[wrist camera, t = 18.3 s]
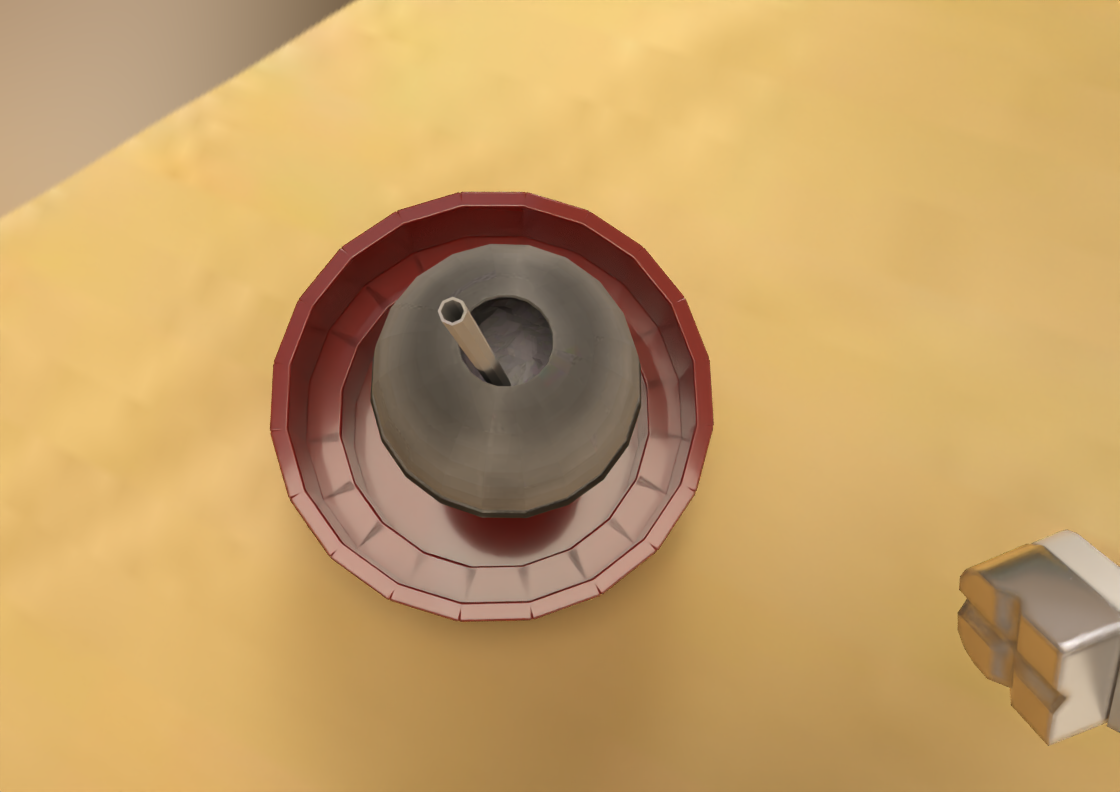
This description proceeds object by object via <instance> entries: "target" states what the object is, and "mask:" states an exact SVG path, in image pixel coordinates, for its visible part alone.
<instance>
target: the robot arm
mask: <svg viewBox="0 0 1120 792" xmlns="http://www.w3.org/2000/svg"><path fill="white" fill-rule="evenodd" d="M959 590H960V591H961V592H962V593H963V594H964V595H965V597H966V598H967V600H966V601H965V603H964V604H963V606H962V607H961V609H960V610H959V612H958V632H959V635H960V638H961V640H962V643H963V646H964V648H965V650H966V652H967V653H968V655H969V656H970V658H971V660H972V661H973V663H974V664H975V665H976V666H977V668H978V669H979V670H980V671H981V672H982V673H983V674H984V676H985V677H986V678H987V679H989V680H992V681H994V682H997V683H999V684H1002V685H1004V686H1007V687H1009V688H1010V698H1011V706H1012V707H1013V708H1014V709H1015V710H1016V711H1017V712H1018V713H1019V714H1020V716H1021V717H1022V718H1023V719H1024V720H1025V721H1026V722H1027V723H1028V724H1029V725H1030V727H1031V728H1032V729H1033V730H1034V731H1035V732H1036V733H1037V734H1038V735H1039V736H1040V738H1041V739H1042V740H1043V741H1044V742H1045V743H1046V744H1047V745H1048V746H1049V745H1052V744H1054V743H1057V742H1059V741H1062V740H1064V739H1067V738H1069V737H1072V736H1074V735H1077V734H1079V733H1082V732H1084V731H1087V730H1089V729H1092V728H1094V727H1097V726H1099V725H1102V724H1104V723H1107V722H1108V724H1107V727H1109V728H1111V729H1113V730H1115V731H1117V732H1119V733H1120V567H1119V566H1117V565H1116V564H1115V563H1114V562H1112V561H1111V560H1110V559H1109V558H1107V557H1106V556H1105V555H1104V554H1102V553H1101V552H1100V551H1099V550H1097V549H1096V548H1095V547H1094V546H1092V545H1091V544H1090V543H1089V542H1087V541H1086V540H1085V539H1084V538H1082V537H1081V536H1080V535H1078V534H1077V533H1075V532H1072V531H1069V530H1063V531H1059V532H1057V533H1054V534H1052V535H1050V536H1047V537H1045V538H1043V539H1040V540H1038V541H1036V542H1033V543H1031V544H1025V545H1022V546H1020V547H1018V548H1015V549H1013V550H1011V551H1008V552H1006V553H1003V554H1001V555H999V556H996V557H994V558H991V559H989V560H987V561H984V562H982V563H980V564H977V565H975V566H972V567H970V568H968V569H966V570H965V571H964V572H963V573H962V575H961V576H960V585H959Z"/></svg>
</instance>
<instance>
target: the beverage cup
mask: <svg viewBox="0 0 1120 792" xmlns="http://www.w3.org/2000/svg"><path fill="white" fill-rule="evenodd" d="M370 401H371V405H372V409H373V412H374V416H375V420H376V423H377V427H378V430H379V434H380V438H381V441H382V443H383V444H384V446H385V447H386V449H387V450H388V452H389V453H390V455H391V456H392V458H393V459H394V460H395V462H396V463H397V465H398V466H399V468H400V469H401V471H402V472H403V474H404V475H405V477H406V478H408V479H409V480H410V481H412V482H413V483H414V484H416V485H417V486H418V487H420V488H421V489H422V490H424V491H425V492H426V493H427V494H429V495H430V496H431V497H433V498H434V499H435V500H437V501H438V502H439V503H441V504H444V505H447V506H450V507H453V508H456V509H459V510H461V511H464V512H467V513H470V514H473V515H476V516H479V517H482V518H528V517H531V516H535V515H538V514H541V513H544V512H547V511H551V510H554V509H557V508H560V507H564V506H567V505H569V504H570V503H572V502H573V501H575V500H576V499H577V498H579V497H580V496H582V495H583V494H584V493H586V492H587V491H589V490H590V489H591V488H593V487H594V486H596V485H597V484H598V483H600V482H601V481H603V480H604V479H605V477H606V476H607V474H608V473H609V472H610V470H611V469H612V468H613V466H614V465H615V463H616V462H617V461H618V459H619V458H620V457H621V455H622V454H623V453H624V451H625V450H626V448H627V447H628V446H629V443H630V440H631V437H632V433H633V430H634V427H635V424H636V421H637V418H638V415H639V412H640V408H641V364H640V361H639V358H638V354H637V351H636V348H635V345H634V342H633V339H632V336H631V333H630V330H629V327H628V324H627V322H626V319H625V316H624V313H623V312H622V310H621V309H620V308H619V306H618V305H617V304H616V302H615V301H614V300H613V298H612V297H611V296H610V294H609V293H608V292H607V290H606V289H605V288H604V286H603V285H602V284H601V282H600V281H598V280H597V279H596V278H594V277H593V276H591V275H590V274H589V273H587V272H586V271H584V270H583V269H582V268H580V267H579V266H577V265H576V264H574V263H573V262H572V261H570V260H569V259H567V258H566V257H563V256H560V255H557V254H554V253H551V252H548V251H545V250H542V249H539V248H536V247H533V246H530V245H510V244H488V245H484V246H481V247H477V248H473V249H470V250H466V251H462V252H459V253H455V254H452V255H450V256H449V257H447V258H446V259H444V260H443V261H441V262H439V263H438V264H436V265H435V266H433V267H432V268H430V269H428V270H427V271H425V272H424V273H422V274H421V275H419V276H417V277H416V278H415V280H414V281H413V282H412V283H411V284H410V286H409V287H408V288H407V289H406V290H405V292H404V293H403V294H402V295H401V296H400V298H399V299H398V300H397V301H396V302H395V303H394V305H393V306H392V307H391V309H390V311H389V314H388V316H387V319H386V321H385V324H384V326H383V329H382V331H381V334H380V336H379V339H378V341H377V344H376V347H375V352H374V357H373V363H372V380H371V398H370Z"/></svg>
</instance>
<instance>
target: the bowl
mask: <svg viewBox="0 0 1120 792" xmlns="http://www.w3.org/2000/svg"><path fill="white" fill-rule="evenodd" d="M488 244H510V245H530V246H533V247H536V248H539V249H542V250H545V251H548V252H551V253H554V254H557V255H560V256H563V257H566V258H567V259H569V260H570V261H572V262H573V263H574V264H576V265H577V266H579V267H580V268H582V269H583V270H584V271H586V272H587V273H589V274H590V275H591V276H593V277H594V278H596V279H597V280H598V281H600V282H601V284H602V285H603V286H604V288H605V289H606V290H607V292H608V293H609V294H610V296H611V297H612V298H613V300H614V301H615V302H616V304H617V305H618V306H619V308H620V309H621V310H622V312H623V313H624V316H625V319H626V322H627V324H628V327H629V330H630V333H631V336H632V339H633V342H634V345H635V348H636V351H637V354H638V358H639V361H640V364H641V408H640V412H639V415H638V418H637V421H636V424H635V427H634V430H633V433H632V437H631V440H630V443H629V446H628V447H627V448H626V450H625V451H624V453H623V454H622V455H621V457H620V458H619V459H618V461H617V462H616V463H615V465H614V466H613V468H612V469H611V470H610V472H609V473H608V474H607V476H606V477H605V479H604V480H603V481H601V482H600V483H598V484H597V485H596V486H594V487H593V488H591V489H590V490H589V491H587V492H586V493H584V494H583V495H582V496H580V497H579V498H577V499H576V500H575V501H573V502H572V503H570V504H569V505H567V506H564V507H560V508H557V509H554V510H551V511H547V512H544V513H541V514H538V515H535V516H531V517H528V518H482V517H479V516H476V515H473V514H470V513H467V512H464V511H461V510H459V509H456V508H453V507H450V506H447V505H444V504H441V503H439V502H438V501H437V500H435V499H434V498H433V497H431V496H430V495H429V494H427V493H426V492H425V491H424V490H422V489H421V488H420V487H418V486H417V485H416V484H414V483H413V482H412V481H410V480H409V479H408V478H406V477H405V475H404V474H403V472H402V471H401V469H400V468H399V466H398V465H397V463H396V462H395V460H394V459H393V458H392V456H391V455H390V453H389V452H388V450H387V449H386V447H385V446H384V444H383V443H382V441H381V438H380V434H379V430H378V427H377V423H376V420H375V416H374V412H373V409H372V405H371V401H370V398H371V380H372V363H373V357H374V352H375V347H376V344H377V341H378V339H379V336H380V334H381V331H382V329H383V326H384V324H385V321H386V319H387V316H388V314H389V311H390V309H391V307H392V306H393V305H394V303H395V302H396V301H397V300H398V299H399V298H400V296H401V295H402V294H403V293H404V292H405V290H406V289H407V288H408V287H409V286H410V284H411V283H412V282H413V281H414V280H415V278H416V277H417V276H419V275H421V274H422V273H424V272H425V271H427V270H428V269H430V268H432V267H433V266H435V265H436V264H438V263H439V262H441V261H443V260H444V259H446V258H447V257H449V256H450V255H452V254H455V253H459V252H462V251H466V250H470V249H473V248H477V247H481V246H484V245H488ZM713 425H714V421H713V405H712V389H711V373H710V360H709V356H708V354H707V351H706V349H705V346H704V344H703V341H702V339H701V336H700V334H699V331H698V329H697V326H696V324H695V321H694V319H693V316H692V314H691V311H690V308H689V306H688V303H687V301H686V299H685V298H684V296H683V295H682V293H681V292H680V291H679V290H678V288H677V287H676V286H675V285H674V284H673V282H672V281H671V280H670V279H669V277H668V276H667V275H666V274H665V273H664V271H663V270H662V269H661V268H660V266H659V265H658V264H657V263H656V262H655V260H654V259H653V258H652V257H651V255H650V254H649V253H648V252H647V251H646V249H645V248H643V247H642V246H641V245H640V244H638V243H637V242H635V241H634V240H632V239H631V238H629V237H628V236H626V235H625V234H623V233H622V232H620V231H619V230H617V229H616V228H614V227H613V226H611V225H610V224H608V223H607V222H605V221H604V220H602V219H601V218H599V217H598V216H596V215H595V214H593V213H591V212H589V211H588V210H585V209H582V208H578V207H575V206H572V205H568V204H565V203H562V202H558V201H555V200H552V199H548V198H545V197H542V196H538V195H535V194H532V193H528V192H527V193H525V192H461V193H455V194H452V195H448V196H445V197H441V198H438V199H435V200H431V201H428V202H425V203H421V204H418V205H415V206H411V207H408V208H404V209H401V210H398V211H397V212H394V213H393V214H391V215H389V216H388V217H386V218H385V219H383V220H382V221H380V222H379V223H377V224H376V225H374V226H373V227H371V228H370V229H368V230H367V231H365V232H364V233H362V234H361V235H359V236H358V237H356V238H355V239H353V240H352V241H350V242H349V243H347V244H346V245H344V246H343V247H342V249H339V250H338V252H337V253H336V254H335V255H334V257H333V258H332V259H331V260H330V261H329V263H328V264H327V265H326V266H325V268H324V269H323V270H322V271H321V272H320V274H319V275H318V276H317V277H316V279H315V280H314V281H313V282H312V283H311V285H310V286H309V287H308V288H307V290H306V291H305V292H304V293H303V294H302V296H301V297H300V298H299V300H298V302H297V304H296V306H295V309H294V312H293V314H292V317H291V319H290V322H289V324H288V327H287V329H286V332H285V335H284V337H283V340H282V342H281V345H280V347H279V350H278V352H277V355H276V358H275V360H274V365H273V380H272V399H271V419H270V431H271V438H272V441H273V445H274V448H275V452H276V455H277V459H278V462H279V466H280V469H281V473H282V476H283V480H284V483H285V487H286V490H287V494H288V497H289V498H290V501H291V503H292V504H293V505H294V507H295V508H296V510H297V511H298V513H299V514H300V515H301V517H302V518H303V520H304V521H305V523H306V524H307V525H308V527H309V528H310V530H311V531H312V533H313V534H314V535H315V537H316V538H317V540H318V541H319V543H320V544H321V545H322V547H323V548H324V550H325V551H326V553H327V554H328V555H329V556H330V557H331V559H333V560H334V561H335V562H337V563H338V564H340V565H341V566H342V567H344V568H345V569H346V570H348V571H349V572H351V573H352V574H353V575H355V576H356V577H357V578H359V579H360V580H362V581H363V582H364V583H366V584H367V585H368V586H370V587H371V588H373V589H374V590H375V591H377V592H378V593H379V594H381V595H382V596H384V597H385V598H386V599H390V600H391V601H393V602H396V603H399V604H403V605H406V606H409V607H412V608H416V609H419V610H422V611H425V612H429V613H432V614H435V615H438V616H441V617H445V618H448V619H451V620H454V621H460V622H476V621H517V620H532V619H537V618H540V617H543V616H545V615H548V614H551V613H554V612H557V611H559V610H562V609H565V608H568V607H570V606H573V605H576V604H579V603H581V602H584V601H587V600H590V599H593V598H595V597H598V596H600V595H601V594H604V593H605V592H606V591H608V590H609V589H610V588H611V587H613V586H614V585H615V584H616V583H618V582H619V581H620V580H622V579H623V578H624V577H625V576H627V575H628V574H629V573H630V572H632V571H633V570H634V569H635V568H637V567H638V566H639V565H641V564H642V563H643V562H644V561H646V560H647V559H648V558H649V557H651V556H652V555H653V554H654V553H656V551H657V550H659V548H660V547H661V545H662V544H663V542H664V541H665V539H666V538H667V536H668V535H669V533H670V532H671V530H672V529H673V527H674V525H675V524H676V522H677V521H678V519H679V518H680V516H681V515H682V513H683V512H684V510H685V509H686V507H687V506H688V504H689V503H690V501H691V500H692V498H693V496H694V495H695V493H696V491H697V488H698V484H699V480H700V476H701V472H702V469H703V465H704V461H705V457H706V453H707V450H708V446H709V442H710V438H711V435H712V431H713Z"/></svg>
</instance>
